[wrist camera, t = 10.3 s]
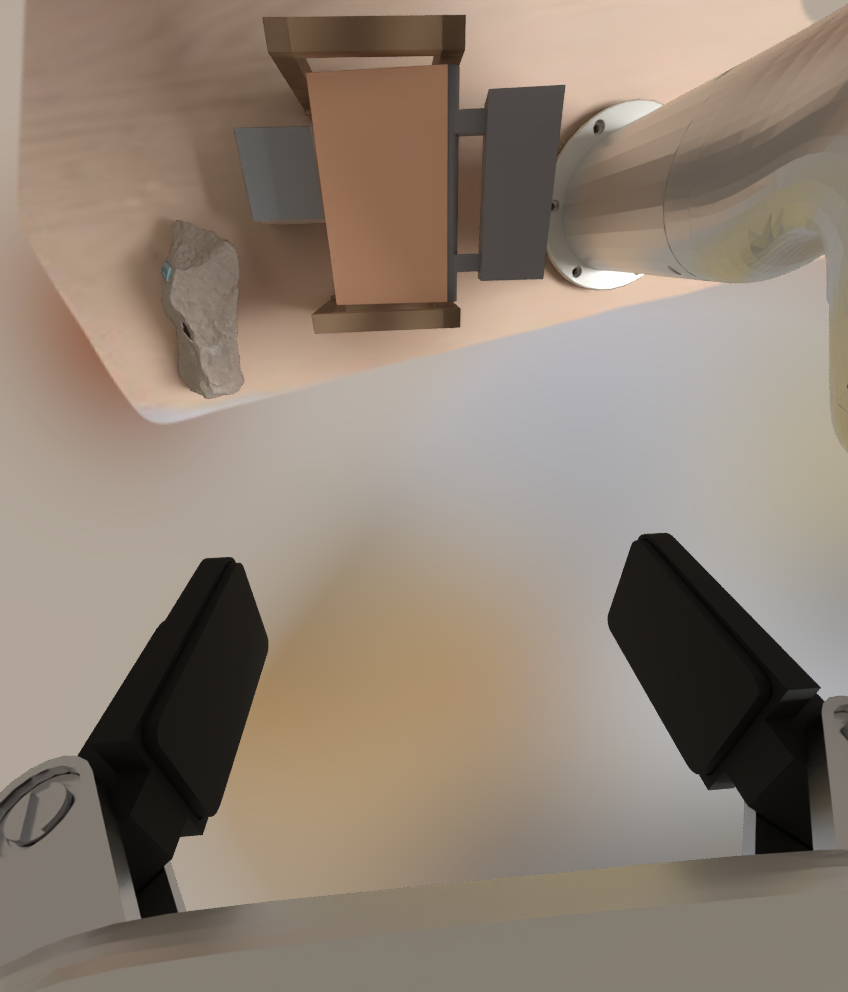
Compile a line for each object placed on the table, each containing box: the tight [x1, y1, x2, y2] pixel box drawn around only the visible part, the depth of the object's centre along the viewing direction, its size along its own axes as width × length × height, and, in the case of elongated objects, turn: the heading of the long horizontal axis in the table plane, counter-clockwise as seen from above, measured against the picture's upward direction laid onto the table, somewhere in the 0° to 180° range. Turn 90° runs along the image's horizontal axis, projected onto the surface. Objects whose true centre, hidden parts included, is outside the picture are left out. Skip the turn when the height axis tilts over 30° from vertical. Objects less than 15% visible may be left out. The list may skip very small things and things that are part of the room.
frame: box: [262, 15, 466, 334], centre depth 28 cm, size 10×15×10 cm
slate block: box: [233, 126, 326, 225], centre depth 29 cm, size 5×5×5 cm
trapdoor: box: [306, 64, 565, 305], centre depth 25 cm, size 14×12×3 cm
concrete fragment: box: [161, 220, 244, 399], centre depth 34 cm, size 7×14×6 cm, turn 160°
